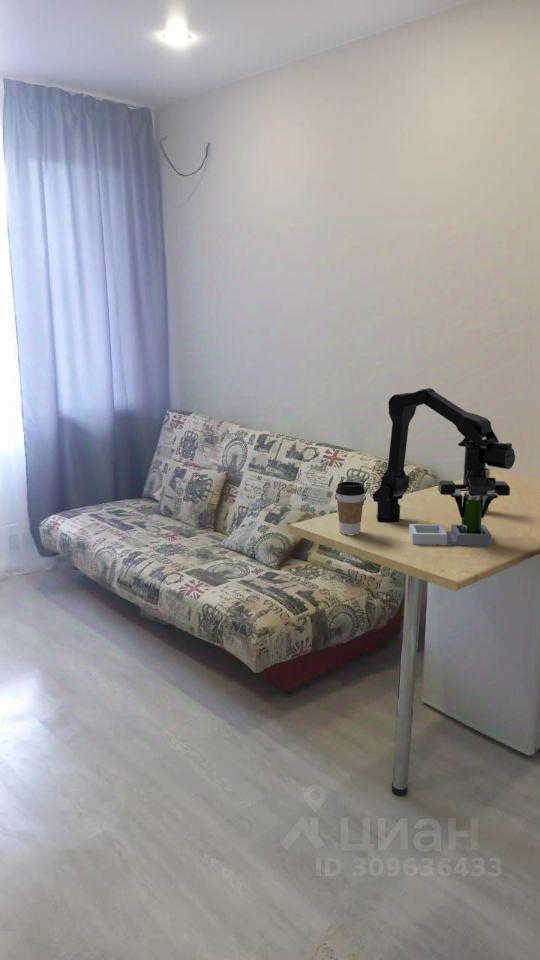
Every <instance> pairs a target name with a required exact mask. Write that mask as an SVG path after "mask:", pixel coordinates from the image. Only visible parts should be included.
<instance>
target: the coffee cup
mask: <svg viewBox="0 0 540 960" xmlns="http://www.w3.org/2000/svg"><path fill="white" fill-rule="evenodd" d="M335 493H336V494H337V498H336V503H337V505H336V506H337V514H338V526H339V528H338V529H339V533H340V532H341V533H344V534H357V533H359V532H360V533H361V526H362V525H361V524H362V517H363V507H364V494H365V493H366V491H365V486H364V484H363V483H362V482H361V483H360V482H356V481H343V482H339V483H337V486H336V491H335ZM341 533H340V534H341ZM360 533H359V534H360ZM357 535H358V534H357Z"/></svg>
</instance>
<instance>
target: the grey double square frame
mask: <svg viewBox="0 0 540 960" xmlns="http://www.w3.org/2000/svg"><path fill="white" fill-rule="evenodd" d="M408 526H409V529H408V534H409V538H410V540H411V543H412V545H432V544H434V545H435V544H439V545H440V546H442V545H443V546H447V545H448V546H492V534H491V532H490V531H489V529H488V528H487V527H486V525H485V524H481V534H467V533H461V524H451V525H450V530H446V529H445V527H444V525H443V524H441V523H440V524H436V523H434V524H433V523H430V524H429V523H409V525H408ZM434 545H433V546H434ZM435 546H436V545H435Z"/></svg>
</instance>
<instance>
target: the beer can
mask: <svg viewBox="0 0 540 960" xmlns="http://www.w3.org/2000/svg"><path fill="white" fill-rule="evenodd" d="M462 496H463V498H462V507H463V516H462V518H461V524H460V525H461V533H467V534H481V525H482V522H483V521H482V520H483V518H482V506H483V497H482V496H480V495H476V496H471V495H470V494H469V491H464V493H463V495H462Z"/></svg>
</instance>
